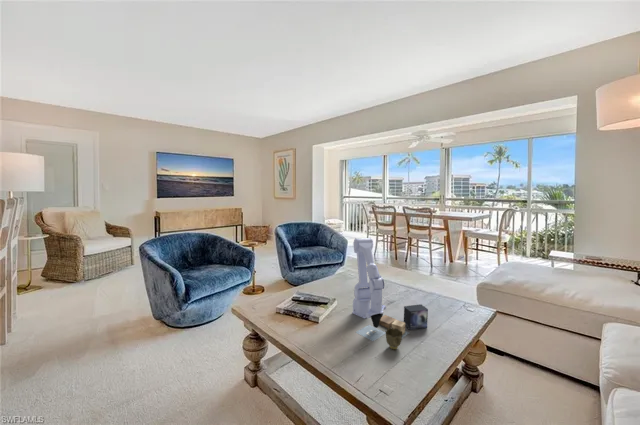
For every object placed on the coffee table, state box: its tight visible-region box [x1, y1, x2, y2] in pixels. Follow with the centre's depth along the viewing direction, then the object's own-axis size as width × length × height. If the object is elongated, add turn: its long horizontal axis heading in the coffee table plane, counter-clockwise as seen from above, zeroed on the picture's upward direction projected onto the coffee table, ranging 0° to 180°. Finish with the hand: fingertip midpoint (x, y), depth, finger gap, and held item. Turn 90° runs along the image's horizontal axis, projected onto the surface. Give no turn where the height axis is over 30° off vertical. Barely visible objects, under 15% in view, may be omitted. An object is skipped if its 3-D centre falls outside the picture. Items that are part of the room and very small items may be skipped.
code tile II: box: [402, 330, 410, 339], centre depth 138 cm, size 8×8×1 cm
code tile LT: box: [355, 324, 386, 342], centre depth 138 cm, size 11×11×1 cm
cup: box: [384, 327, 403, 351], centre depth 125 cm, size 8×7×8 cm
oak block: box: [391, 319, 406, 335], centre depth 138 cm, size 5×5×5 cm
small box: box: [403, 303, 429, 331], centre depth 144 cm, size 11×6×10 cm, turn 104°
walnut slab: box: [379, 314, 397, 329], centre depth 147 cm, size 7×7×3 cm
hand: (375, 326), depth 141 cm, fingers closed
